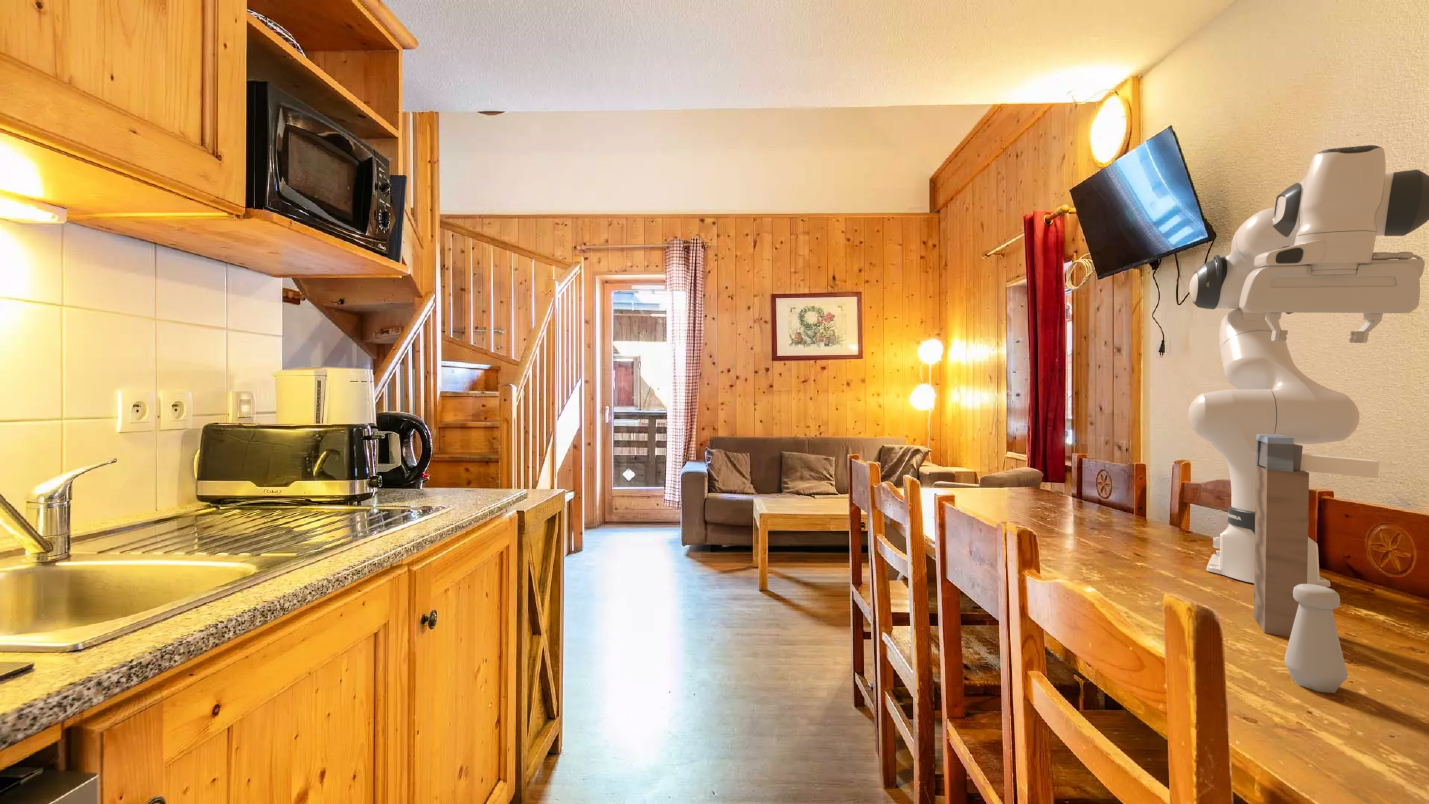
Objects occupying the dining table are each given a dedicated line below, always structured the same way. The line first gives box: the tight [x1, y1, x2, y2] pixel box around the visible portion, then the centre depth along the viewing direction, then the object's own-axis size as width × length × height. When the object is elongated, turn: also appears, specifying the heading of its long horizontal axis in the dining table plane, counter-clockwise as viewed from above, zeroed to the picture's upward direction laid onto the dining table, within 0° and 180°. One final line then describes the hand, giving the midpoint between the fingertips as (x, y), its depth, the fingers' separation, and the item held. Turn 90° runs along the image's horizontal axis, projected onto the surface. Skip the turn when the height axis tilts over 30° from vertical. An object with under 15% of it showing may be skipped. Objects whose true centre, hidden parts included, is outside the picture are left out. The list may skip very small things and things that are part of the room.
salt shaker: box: [1283, 584, 1348, 694], centre depth 77 cm, size 6×6×13 cm
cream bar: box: [1259, 442, 1380, 479], centre depth 94 cm, size 5×13×4 cm, turn 57°
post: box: [1253, 434, 1310, 638], centre depth 96 cm, size 8×5×31 cm, turn 147°
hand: (1317, 341), depth 95 cm, fingers open, 8 cm apart
